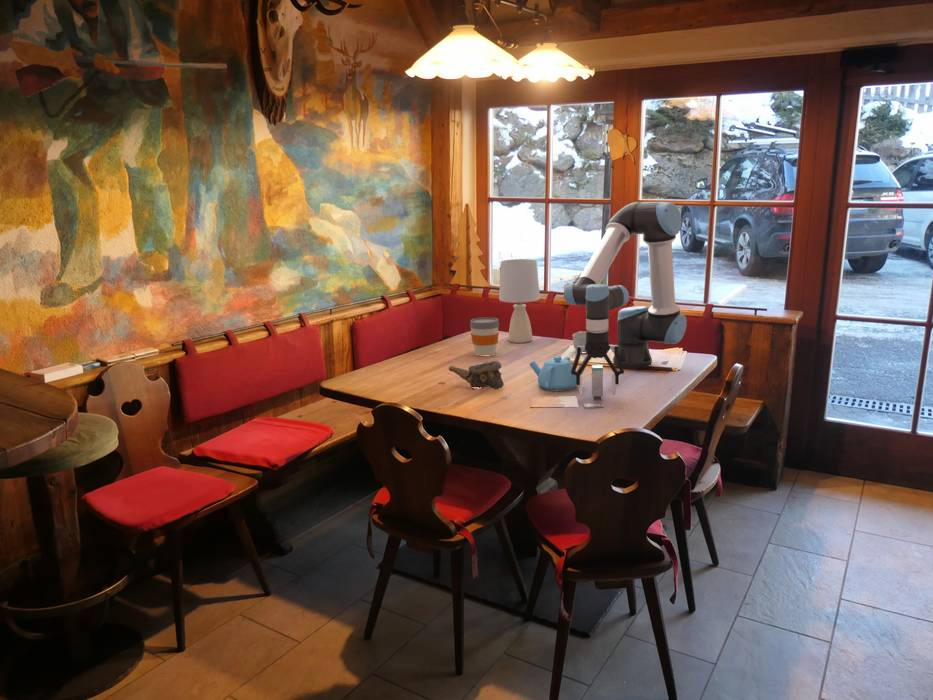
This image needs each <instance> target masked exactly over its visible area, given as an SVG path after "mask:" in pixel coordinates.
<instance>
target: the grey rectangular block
mask: <svg viewBox="0 0 933 700" xmlns="http://www.w3.org/2000/svg"><path fill="white" fill-rule="evenodd" d="M603 366H604V365H602V364H600V365H599V364H597V365H594V364H593V365H591V395H592V398H593V401H602V397H603V396H604V395H603V394H604V367H603Z"/></svg>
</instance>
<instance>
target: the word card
mask: <svg viewBox="0 0 933 700" xmlns="http://www.w3.org/2000/svg"><path fill="white" fill-rule="evenodd" d="M583 406H584V409H604V405H603V403H599V402H598V403H595V402H593V403H583Z"/></svg>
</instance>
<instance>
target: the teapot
mask: <svg viewBox="0 0 933 700" xmlns="http://www.w3.org/2000/svg"><path fill="white" fill-rule="evenodd" d="M529 366H530V367H531V369H532V370H533V372H534V373H535V374H536V376H537V382H538V383H537V384H538V385H539V386H540V387H541V388H542V389H543V388H544V390H546V389H548V390H547V391H552V390H559V391H558V392H560V390H564V391H569V390H572V389H573V388H575V387H576V386H577V384H576V375H572V374H571V369H572V366H573V363H572V362H571V357H570V356H564V358H563V357H562V356H561V355H556V356H555V355H554V356H553V358H551V359H548V360H546V361H545V362H544V363H543V365H542V366H541V368H540V366H539V365H538V364H537V362H536V361H535V360H533V361H532V362H530V363H529ZM586 367H587V366H586ZM586 367H585V368H584V370H583V371H582V373H581V375H582V376H583V373H584V372H585V370H586Z"/></svg>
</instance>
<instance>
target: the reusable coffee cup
mask: <svg viewBox="0 0 933 700" xmlns="http://www.w3.org/2000/svg"><path fill="white" fill-rule="evenodd" d="M469 323H470V324H469V328H470V330H471V333H470V336H471V342H472V345H473V349H474V354H478V355H492V356H494V355H493V354H495V353H496V354H497V346H498V345H497V344H498V343H499V327H500V321H499V318H497V317H477V318H472V319H470V321H469ZM496 354H495V355H496Z"/></svg>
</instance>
